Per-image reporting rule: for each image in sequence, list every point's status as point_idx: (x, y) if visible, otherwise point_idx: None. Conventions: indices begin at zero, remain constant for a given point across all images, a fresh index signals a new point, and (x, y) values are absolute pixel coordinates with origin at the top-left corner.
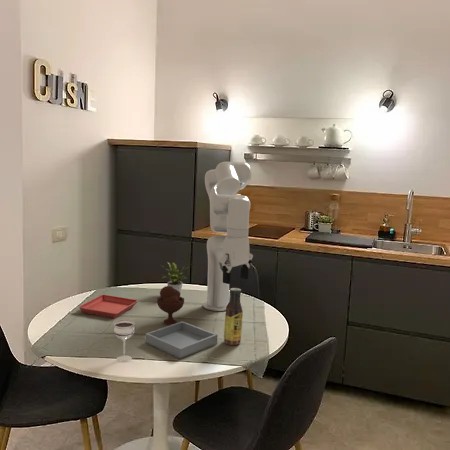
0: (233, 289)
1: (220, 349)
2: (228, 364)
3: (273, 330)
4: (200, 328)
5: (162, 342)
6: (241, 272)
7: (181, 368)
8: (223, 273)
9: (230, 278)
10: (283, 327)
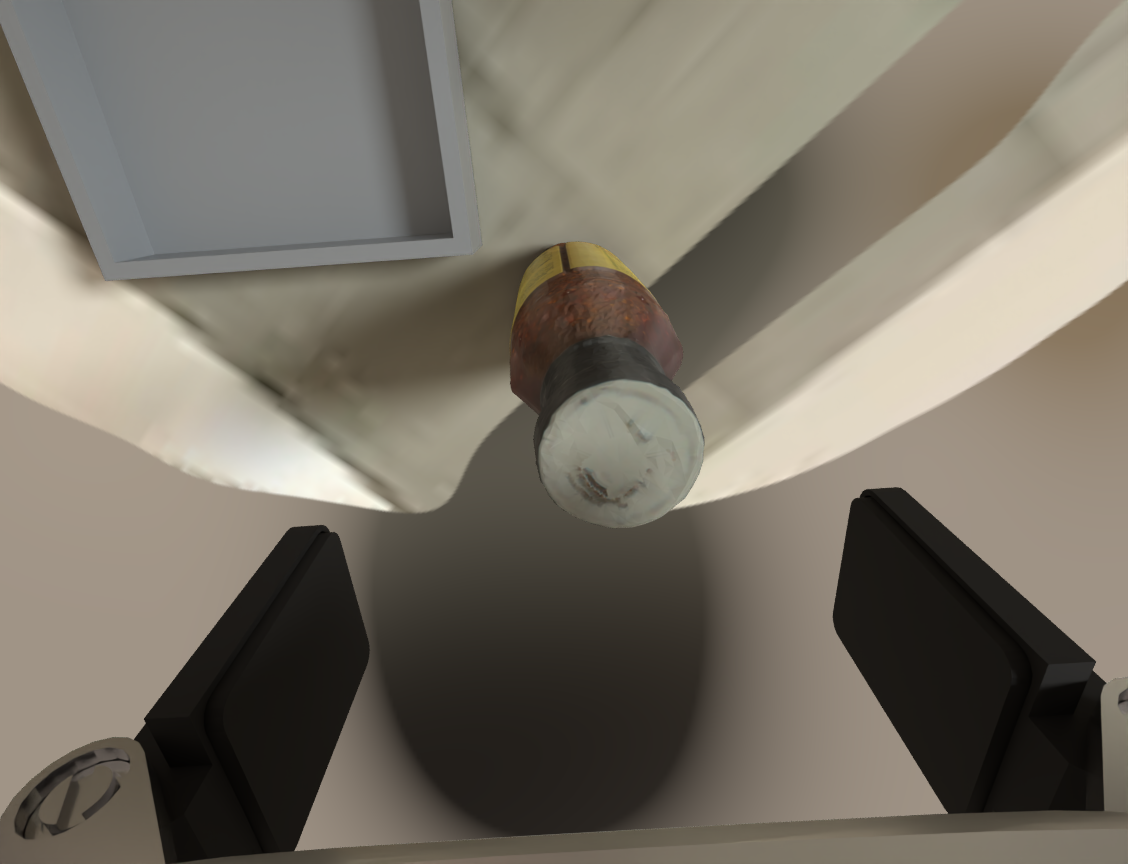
0: (589, 450)
1: (445, 321)
2: (363, 476)
3: (943, 329)
4: (439, 51)
5: (26, 64)
6: (920, 587)
7: (112, 363)
8: (138, 740)
9: (321, 747)
10: (1037, 337)
